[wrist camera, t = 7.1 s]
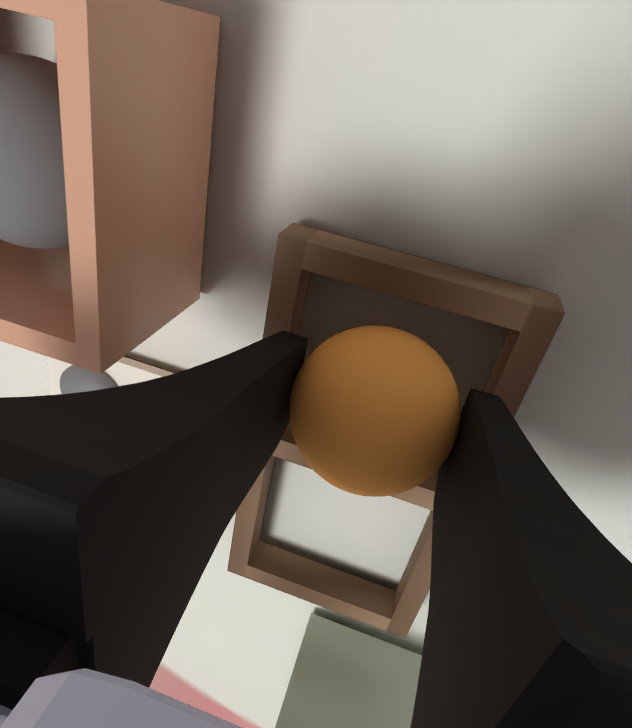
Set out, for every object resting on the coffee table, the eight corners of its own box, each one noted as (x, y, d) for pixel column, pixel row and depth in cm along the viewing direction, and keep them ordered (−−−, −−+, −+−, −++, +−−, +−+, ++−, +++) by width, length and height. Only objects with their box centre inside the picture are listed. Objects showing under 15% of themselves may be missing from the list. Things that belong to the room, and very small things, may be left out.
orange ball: (485, 326, 11) (488, 415, 8) (435, 448, 13) (422, 559, 10) (330, 281, 12) (279, 350, 9) (303, 406, 14) (253, 498, 11)
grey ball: (163, 76, 11) (48, 74, 8) (159, 241, 13) (65, 293, 10) (10, 41, 11) (-159, 26, 8) (27, 206, 13) (-104, 245, 10)
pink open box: (220, 16, 10) (85, -20, 6) (199, 298, 13) (100, 374, 10) (-45, -41, 11) (-288, -100, 7) (-5, 236, 14) (-162, 286, 10)
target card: (243, 396, 14) (236, 404, 14) (229, 498, 16) (223, 508, 16) (51, 333, 15) (40, 339, 14) (61, 438, 17) (51, 446, 17)
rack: (558, 295, 11) (564, 313, 10) (409, 609, 16) (405, 638, 15) (293, 222, 11) (278, 233, 11) (239, 546, 17) (227, 570, 16)
